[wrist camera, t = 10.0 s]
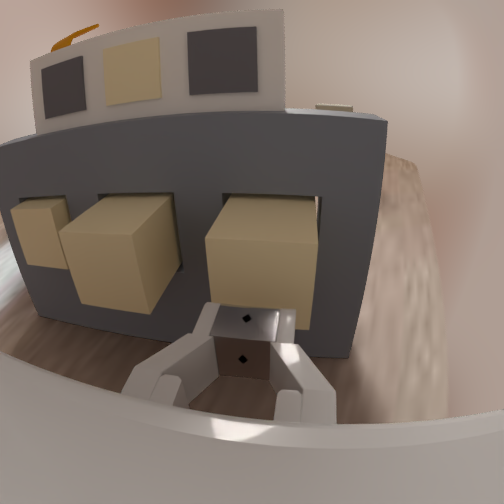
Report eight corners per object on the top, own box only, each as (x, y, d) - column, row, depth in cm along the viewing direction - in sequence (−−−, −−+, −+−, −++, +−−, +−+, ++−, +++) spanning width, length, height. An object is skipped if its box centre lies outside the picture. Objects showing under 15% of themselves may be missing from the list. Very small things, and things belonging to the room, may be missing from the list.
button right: (213, 322, 14) (204, 237, 12) (242, 244, 20) (239, 180, 18) (309, 330, 13) (318, 244, 11) (309, 248, 19) (313, 183, 17)
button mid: (81, 303, 15) (58, 231, 13) (137, 239, 21) (128, 181, 19) (150, 314, 14) (131, 234, 12) (194, 241, 20) (188, 179, 18)
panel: (38, 315, 22) (-22, 82, 13) (57, 294, 25) (8, 76, 16) (348, 358, 19) (388, 12, 10) (345, 326, 22) (374, 23, 12)
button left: (27, 264, 18) (10, 209, 16) (80, 220, 24) (71, 174, 22) (68, 269, 17) (50, 208, 15) (120, 220, 23) (111, 170, 21)
